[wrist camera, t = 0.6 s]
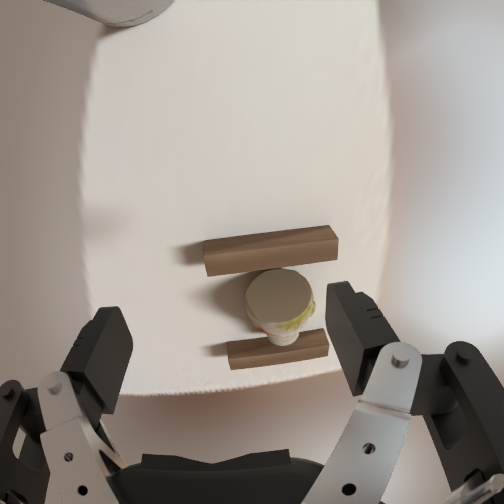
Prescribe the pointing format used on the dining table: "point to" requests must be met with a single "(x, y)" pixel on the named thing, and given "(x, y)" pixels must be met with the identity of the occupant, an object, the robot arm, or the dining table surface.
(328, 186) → the dining table surface
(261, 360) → the wooden guide rails
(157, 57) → the dining table surface
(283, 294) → the mug
